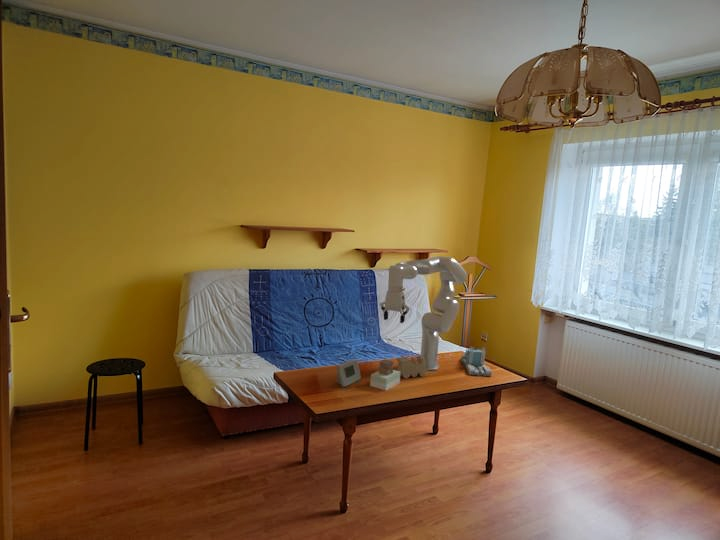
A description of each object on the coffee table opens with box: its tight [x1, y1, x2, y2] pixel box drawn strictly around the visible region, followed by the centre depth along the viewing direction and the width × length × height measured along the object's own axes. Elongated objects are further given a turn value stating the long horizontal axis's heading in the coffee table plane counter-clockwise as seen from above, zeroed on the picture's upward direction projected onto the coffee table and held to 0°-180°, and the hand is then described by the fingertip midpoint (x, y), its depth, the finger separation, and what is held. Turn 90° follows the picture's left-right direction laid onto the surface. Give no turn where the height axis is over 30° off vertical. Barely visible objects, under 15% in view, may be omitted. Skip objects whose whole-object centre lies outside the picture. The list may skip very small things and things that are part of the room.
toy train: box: [396, 355, 429, 379], centre depth 250 cm, size 6×17×10 cm, turn 113°
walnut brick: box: [378, 358, 394, 375], centre depth 234 cm, size 5×5×6 cm
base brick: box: [369, 369, 401, 391], centre depth 235 cm, size 14×9×6 cm, turn 146°
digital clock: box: [336, 358, 362, 388], centre depth 234 cm, size 16×9×11 cm, turn 136°
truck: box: [460, 346, 493, 377], centre depth 270 cm, size 12×29×15 cm, turn 178°
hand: (393, 321), depth 245 cm, fingers open, 9 cm apart
